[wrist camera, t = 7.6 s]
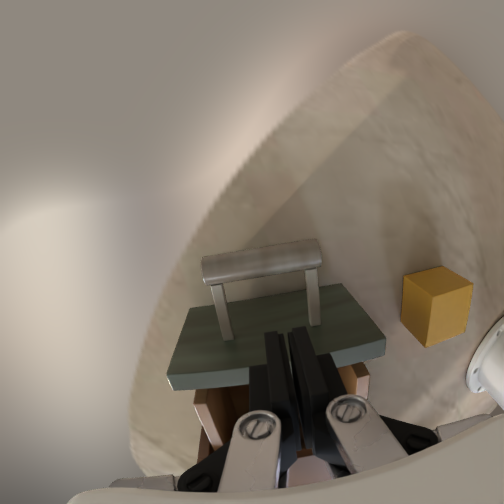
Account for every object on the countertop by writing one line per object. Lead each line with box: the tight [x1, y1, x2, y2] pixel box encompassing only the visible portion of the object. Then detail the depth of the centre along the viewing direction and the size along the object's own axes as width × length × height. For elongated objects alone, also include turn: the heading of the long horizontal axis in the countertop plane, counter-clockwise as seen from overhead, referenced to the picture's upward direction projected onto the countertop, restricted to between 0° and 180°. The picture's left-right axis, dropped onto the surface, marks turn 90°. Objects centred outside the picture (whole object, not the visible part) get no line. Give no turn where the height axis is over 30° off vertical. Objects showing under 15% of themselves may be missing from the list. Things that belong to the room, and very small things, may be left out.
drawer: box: [166, 238, 386, 451], centre depth 18 cm, size 18×11×8 cm, turn 9°
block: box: [401, 266, 473, 348], centre depth 20 cm, size 5×5×5 cm
